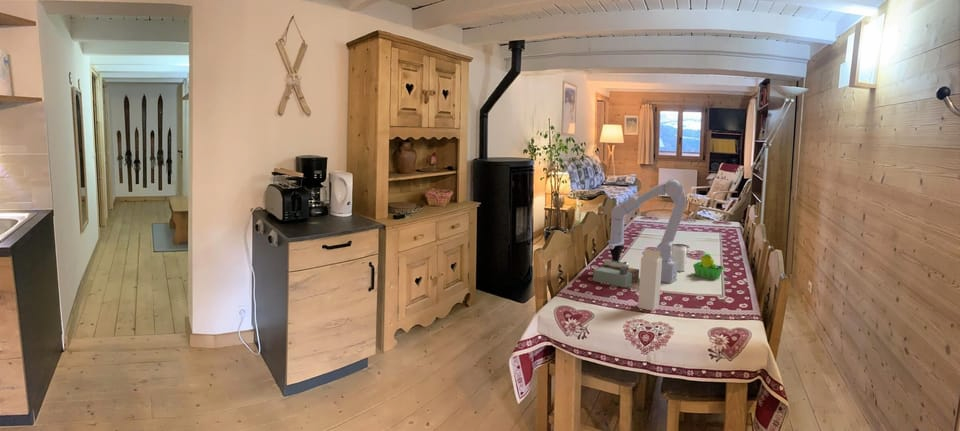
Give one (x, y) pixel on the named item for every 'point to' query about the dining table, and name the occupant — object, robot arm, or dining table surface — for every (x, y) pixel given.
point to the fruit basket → (707, 268)
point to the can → (679, 256)
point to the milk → (650, 280)
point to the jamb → (634, 271)
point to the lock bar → (616, 263)
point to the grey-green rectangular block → (613, 276)
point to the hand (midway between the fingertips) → (615, 261)
